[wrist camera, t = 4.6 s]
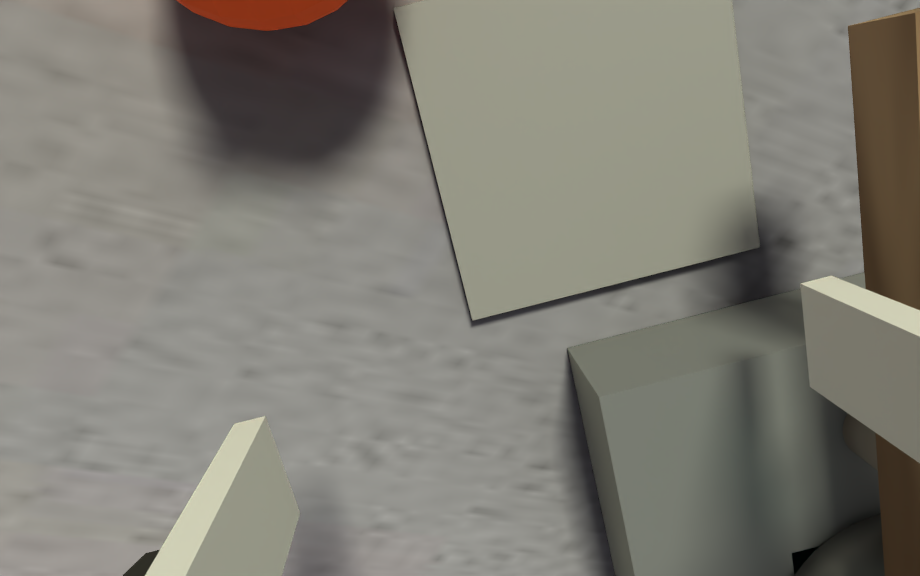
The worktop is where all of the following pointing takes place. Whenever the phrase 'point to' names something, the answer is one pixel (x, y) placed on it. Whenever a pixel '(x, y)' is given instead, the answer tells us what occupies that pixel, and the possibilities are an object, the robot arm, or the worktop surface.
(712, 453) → the socket block
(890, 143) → the brown wooden lever
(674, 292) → the worktop surface
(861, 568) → the plug
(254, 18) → the clementine
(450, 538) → the worktop surface
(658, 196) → the mat
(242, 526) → the robot arm
